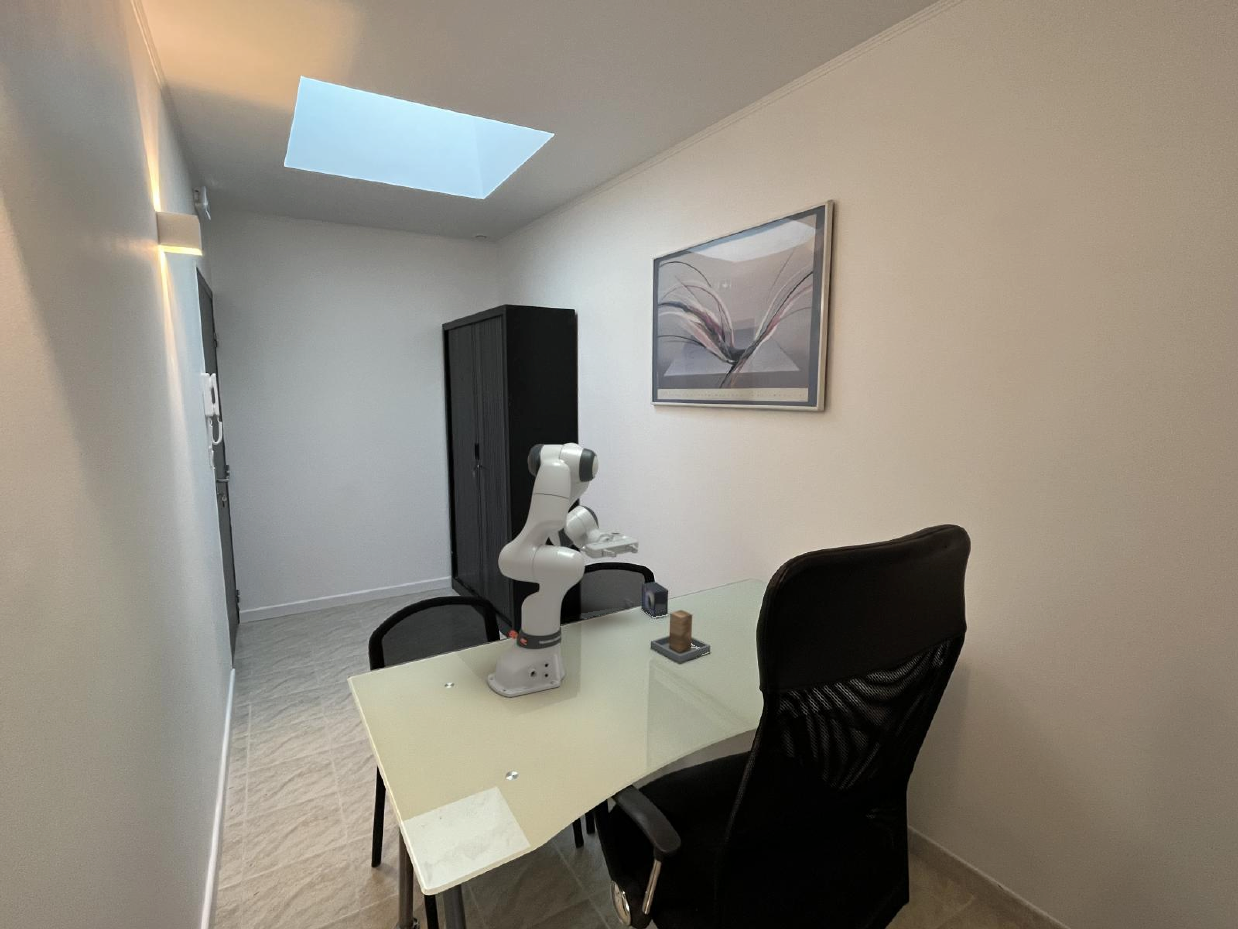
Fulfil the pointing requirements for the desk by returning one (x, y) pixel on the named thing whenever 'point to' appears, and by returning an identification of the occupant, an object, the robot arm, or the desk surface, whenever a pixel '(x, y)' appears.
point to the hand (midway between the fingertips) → (625, 553)
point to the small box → (654, 599)
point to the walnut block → (680, 631)
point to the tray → (663, 648)
